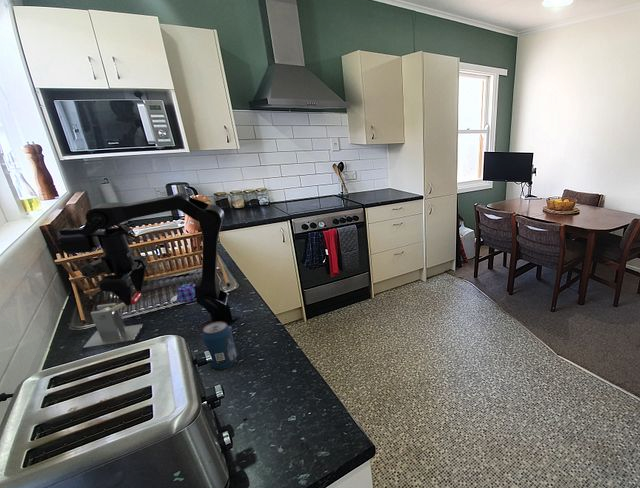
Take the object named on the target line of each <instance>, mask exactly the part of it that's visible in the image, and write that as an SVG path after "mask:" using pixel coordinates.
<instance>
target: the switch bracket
mask: <svg viewBox="0 0 640 488" xmlns="http://www.w3.org/2000/svg"><path fill="white" fill-rule="evenodd" d="M117 305H118V304H117V303H116V302H113V303H103V304H98V305H97V306H96V309H97V310H96V311H91V312H90V316H91V318H92V321H93V323H94V325H95V327H96V331H95V332H94V333H93V334H92V336H91V337H90V338H89V339H88V340H87V342H85V344H84V346H83V347H82V348H83V350H84V349H91V348H98V347H103V346H104V347H105V346H111V345H117V344H122V343H130V342H134V341H135V340H136V338H137V337H138V335H139V334H140V332H141V330H142V329H143V327H144V323H140V324H133V325H127V326H126V325H125V322H124V320H123V317H122V314H121V312H120V309H118V310H116V311H114V312H115V313H114V314H112V311H111V309H110V310H103V311H100V310H102V309H104V308H106V307H108V306H109V307H110V308H113V307H115V306H117Z"/></svg>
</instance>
